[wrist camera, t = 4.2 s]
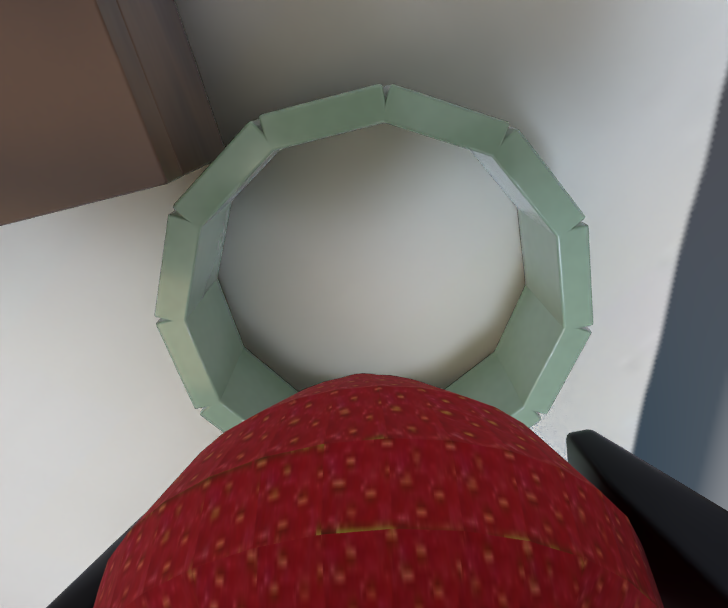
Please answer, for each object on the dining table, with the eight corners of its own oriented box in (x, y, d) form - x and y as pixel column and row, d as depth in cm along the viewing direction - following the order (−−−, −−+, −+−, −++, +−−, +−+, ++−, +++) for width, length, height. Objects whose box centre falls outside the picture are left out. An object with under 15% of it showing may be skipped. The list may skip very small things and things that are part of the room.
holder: (559, 387, 22) (600, 447, 18) (261, 447, 23) (243, 515, 19) (529, 44, 16) (580, 31, 12) (138, 146, 17) (79, 161, 14)
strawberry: (528, 463, 12) (989, 1481, 3) (245, 504, 13) (-20, 1495, 4) (516, 247, 10) (2003, 1744, 1) (171, 307, 11) (-1012, 1699, 1)
